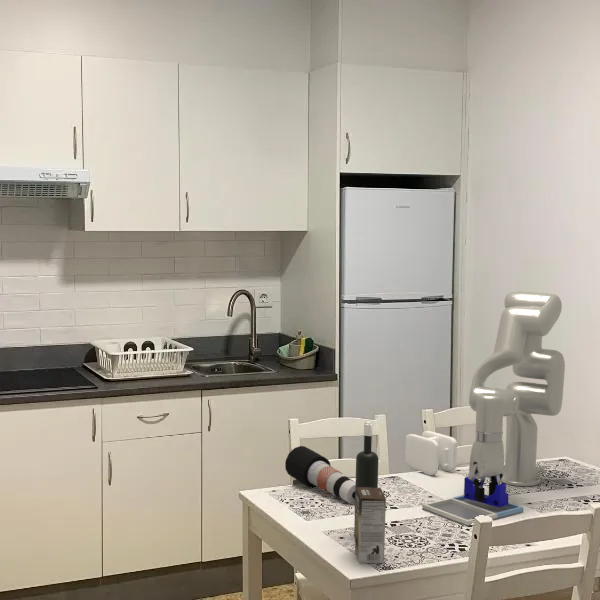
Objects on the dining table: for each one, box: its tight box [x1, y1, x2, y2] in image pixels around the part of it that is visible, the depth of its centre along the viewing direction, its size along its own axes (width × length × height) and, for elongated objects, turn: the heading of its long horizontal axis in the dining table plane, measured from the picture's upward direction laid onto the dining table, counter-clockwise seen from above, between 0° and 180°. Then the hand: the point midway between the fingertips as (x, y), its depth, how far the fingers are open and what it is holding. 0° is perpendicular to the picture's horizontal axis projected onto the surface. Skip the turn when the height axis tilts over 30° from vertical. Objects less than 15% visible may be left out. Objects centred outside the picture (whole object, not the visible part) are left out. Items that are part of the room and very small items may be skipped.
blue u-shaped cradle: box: [463, 476, 510, 507], centre depth 274 cm, size 12×4×6 cm, turn 46°
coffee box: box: [354, 487, 387, 564], centre depth 233 cm, size 9×6×16 cm
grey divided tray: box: [421, 494, 524, 527], centre depth 271 cm, size 22×18×2 cm
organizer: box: [404, 430, 458, 477], centre depth 313 cm, size 15×11×12 cm
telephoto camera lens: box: [285, 445, 356, 505], centre depth 285 cm, size 10×34×10 cm, turn 35°
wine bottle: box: [353, 421, 379, 537], centre depth 248 cm, size 6×6×30 cm
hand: (486, 498), depth 274 cm, fingers closed on blue u-shaped cradle, 5 cm apart
